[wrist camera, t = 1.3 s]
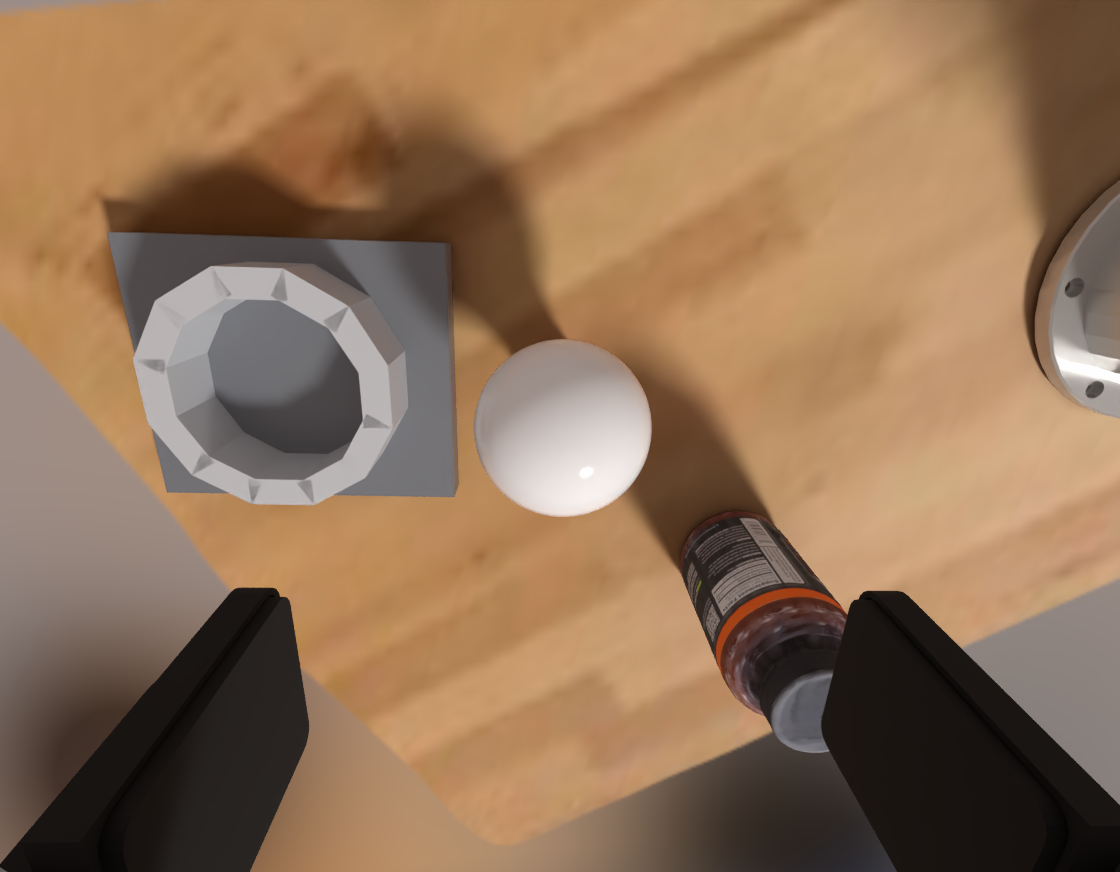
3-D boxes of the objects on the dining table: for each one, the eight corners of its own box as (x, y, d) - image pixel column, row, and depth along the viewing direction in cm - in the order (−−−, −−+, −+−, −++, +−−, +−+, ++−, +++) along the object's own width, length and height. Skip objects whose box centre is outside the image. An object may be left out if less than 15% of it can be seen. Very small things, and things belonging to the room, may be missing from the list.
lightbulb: (498, 301, 26) (471, 348, 16) (631, 318, 27) (688, 375, 17) (487, 428, 29) (456, 541, 18) (610, 442, 29) (648, 560, 19)
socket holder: (450, 242, 25) (432, 245, 21) (458, 484, 30) (444, 526, 25) (131, 231, 25) (48, 232, 21) (185, 479, 29) (124, 522, 25)
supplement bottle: (793, 577, 32) (917, 749, 22) (694, 611, 33) (767, 794, 22) (768, 490, 30) (890, 631, 20) (663, 527, 31) (726, 684, 20)
